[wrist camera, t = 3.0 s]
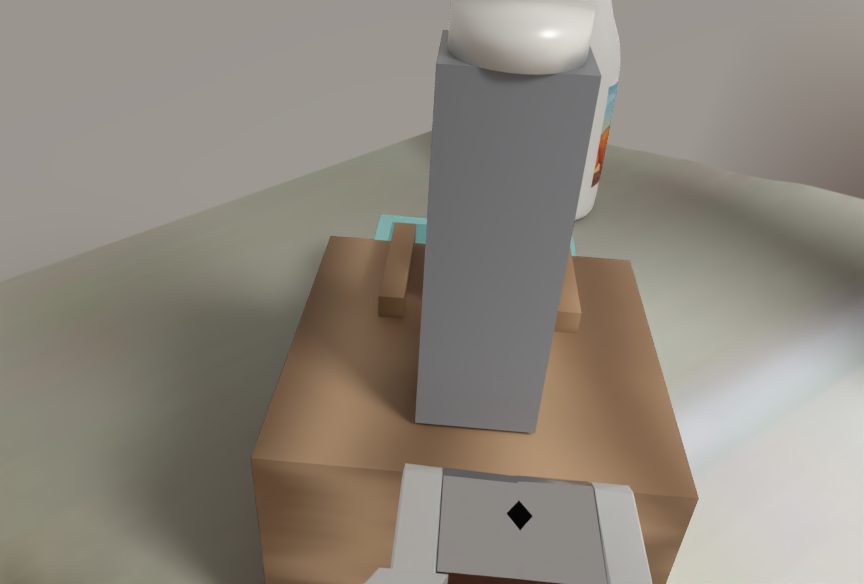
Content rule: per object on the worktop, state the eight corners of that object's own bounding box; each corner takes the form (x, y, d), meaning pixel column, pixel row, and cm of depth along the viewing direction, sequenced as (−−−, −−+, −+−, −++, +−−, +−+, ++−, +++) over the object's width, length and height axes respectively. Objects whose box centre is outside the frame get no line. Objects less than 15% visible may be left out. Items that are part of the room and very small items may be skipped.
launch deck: (591, 417, 40) (634, 242, 34) (631, 671, 29) (707, 476, 22) (334, 394, 41) (330, 217, 34) (271, 637, 29) (248, 435, 23)
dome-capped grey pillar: (530, 369, 27) (595, -8, 20) (535, 439, 24) (613, 28, 17) (422, 359, 28) (446, -19, 20) (414, 429, 25) (438, 15, 17)
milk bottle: (571, 236, 57) (624, -49, 45) (482, 207, 60) (510, -67, 48) (607, 198, 62) (661, -64, 51) (523, 173, 65) (557, -79, 54)
